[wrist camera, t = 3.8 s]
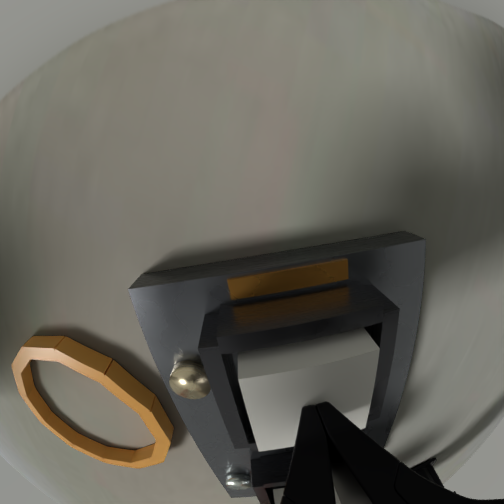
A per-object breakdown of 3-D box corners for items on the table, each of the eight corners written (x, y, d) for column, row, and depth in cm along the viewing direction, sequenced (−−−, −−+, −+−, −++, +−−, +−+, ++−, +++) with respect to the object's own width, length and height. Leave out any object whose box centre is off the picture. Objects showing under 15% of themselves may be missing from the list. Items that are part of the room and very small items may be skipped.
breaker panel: (405, 231, 10) (459, 253, 7) (368, 456, 15) (381, 487, 12) (141, 274, 10) (104, 316, 7) (231, 482, 15) (232, 518, 12)
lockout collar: (127, 333, 11) (118, 348, 10) (193, 458, 14) (192, 472, 13) (0, 335, 11) (-10, 343, 9) (72, 443, 14) (68, 453, 12)
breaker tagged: (349, 309, 9) (379, 348, 7) (345, 386, 10) (365, 427, 8) (237, 330, 9) (238, 379, 7) (254, 405, 10) (258, 451, 8)
